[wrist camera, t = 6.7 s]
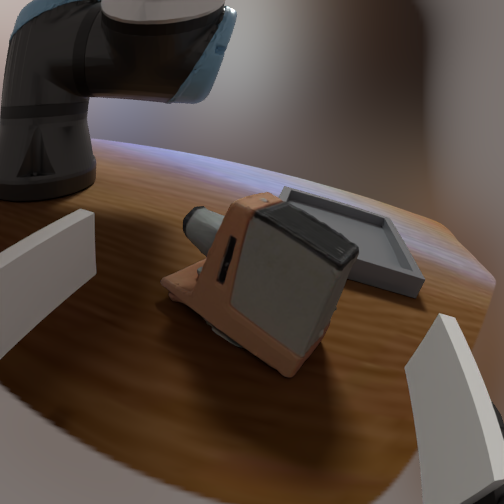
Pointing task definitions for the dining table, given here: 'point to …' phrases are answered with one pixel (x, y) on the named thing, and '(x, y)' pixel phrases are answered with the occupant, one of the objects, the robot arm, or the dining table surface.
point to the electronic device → (265, 277)
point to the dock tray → (365, 242)
